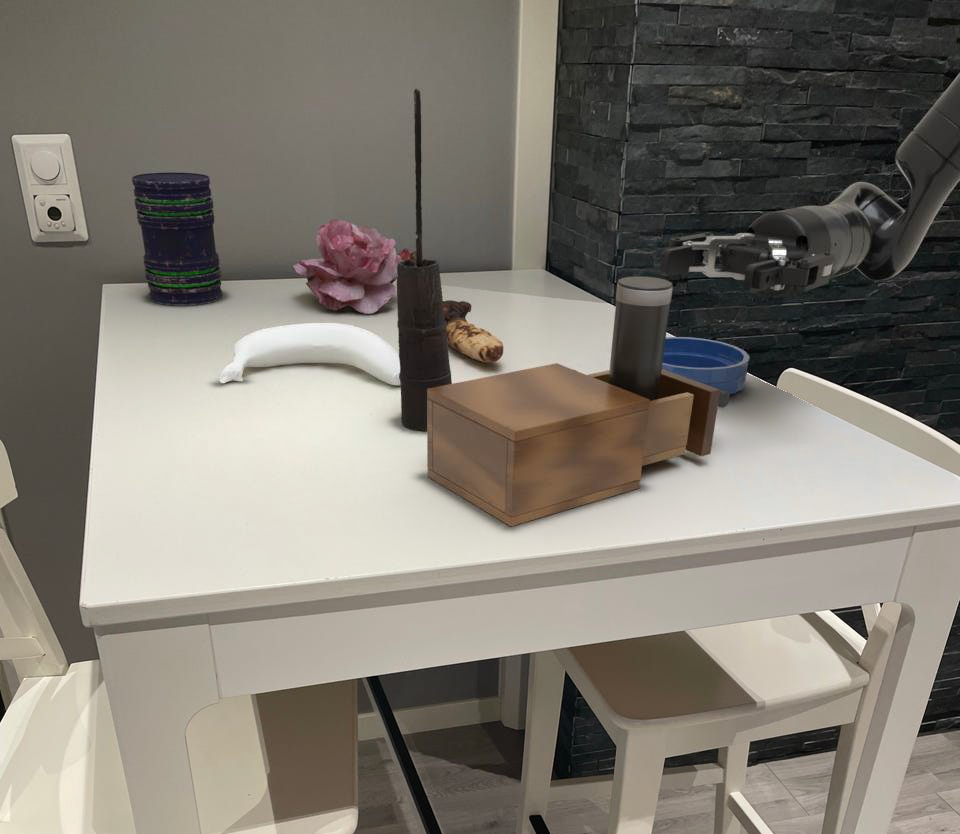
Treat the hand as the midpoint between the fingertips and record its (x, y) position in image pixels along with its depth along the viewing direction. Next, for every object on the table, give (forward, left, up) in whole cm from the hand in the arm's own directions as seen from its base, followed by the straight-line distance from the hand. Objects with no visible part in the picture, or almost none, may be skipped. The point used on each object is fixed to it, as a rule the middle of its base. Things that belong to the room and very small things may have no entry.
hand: (705, 271), depth 84 cm
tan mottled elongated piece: (+34, +3, -15) cm, 37 cm away
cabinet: (-1, +19, -15) cm, 24 cm away
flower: (+61, +1, -15) cm, 62 cm away
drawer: (-1, +8, -14) cm, 16 cm away
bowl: (+11, -12, -15) cm, 22 cm away
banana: (+34, +21, -15) cm, 42 cm away
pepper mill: (-1, +9, -13) cm, 15 cm away
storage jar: (+75, +19, -15) cm, 78 cm away
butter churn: (+17, +18, -15) cm, 29 cm away
